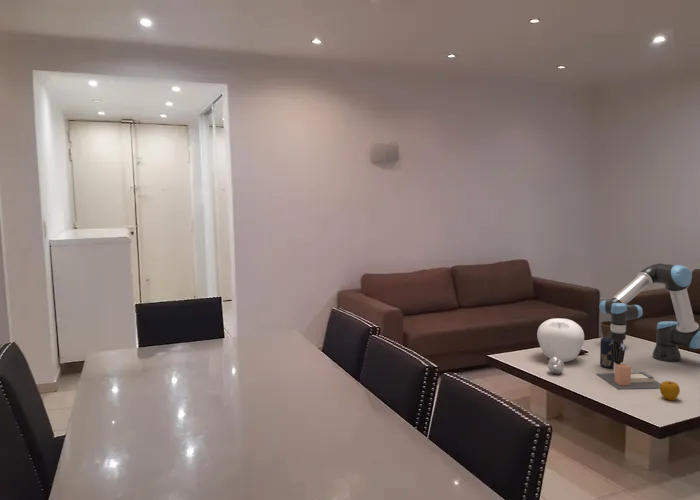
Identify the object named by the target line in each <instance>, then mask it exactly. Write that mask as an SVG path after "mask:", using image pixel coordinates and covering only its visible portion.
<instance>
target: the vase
mask: <svg viewBox="0 0 700 500" xmlns="http://www.w3.org/2000/svg"><path fill="white" fill-rule="evenodd" d="M536 335H537V341H538V344H539V346H540V349H541V351H542V353H543V354H544V356H546V357H547V358H549V359H551V358H552V357H557V358H558V359H560V360H562V361H563V363H568V362H570V361H572V360H575V359H576V358H577V357H578V355H579V353H580V352H581V350H582V347H583V345H584V342H585V333H584V330H583V328H582V326H580V325H579V324H578V323H577V322H575V321H574V320H572V319H568V318H558V317H557V318H550V319H547V320H545V321H544V322H542V323H541V324H540V325H539V327H538V329H537V332H536Z"/></svg>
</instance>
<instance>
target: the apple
mask: <svg viewBox="0 0 700 500" xmlns="http://www.w3.org/2000/svg"><path fill="white" fill-rule="evenodd" d="M660 384H661V385H660V389H659V391H660V394H661V396H662V397H663V399H665V400H667V401H674V400H675V401H676V399H677V398H678V396H679V395H680V392H681V390H680V386H679V384H678V383H677V382H674V381H669V380H668V381H667V380H666V381H665V380H664V381H662V382H661V383H660Z"/></svg>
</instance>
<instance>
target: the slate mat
mask: <svg viewBox="0 0 700 500" xmlns="http://www.w3.org/2000/svg"><path fill="white" fill-rule="evenodd" d="M631 374H641V373H640V372H631ZM596 376H598V377H599V378H601V379H602V380H604V381H605V382H607V383H608V384H610V385H611V386H612V387H614V388H615V389H616V390H656V389H657V390H658V389H659V390H660V385H661V383H660V382H659V381H656V380H655V379H654V382H639V383H630V385H618V384H617V383H615V382H614V377H615V374H614V372H611V373H607V372H605V373H596Z"/></svg>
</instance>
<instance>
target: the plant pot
mask: <svg viewBox="0 0 700 500" xmlns="http://www.w3.org/2000/svg"><path fill="white" fill-rule="evenodd" d="M610 326H611V320H606V321H605V320H604V321H601V322H600V331H601V335H602V338H604V337H610V332H611V327H610Z"/></svg>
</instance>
